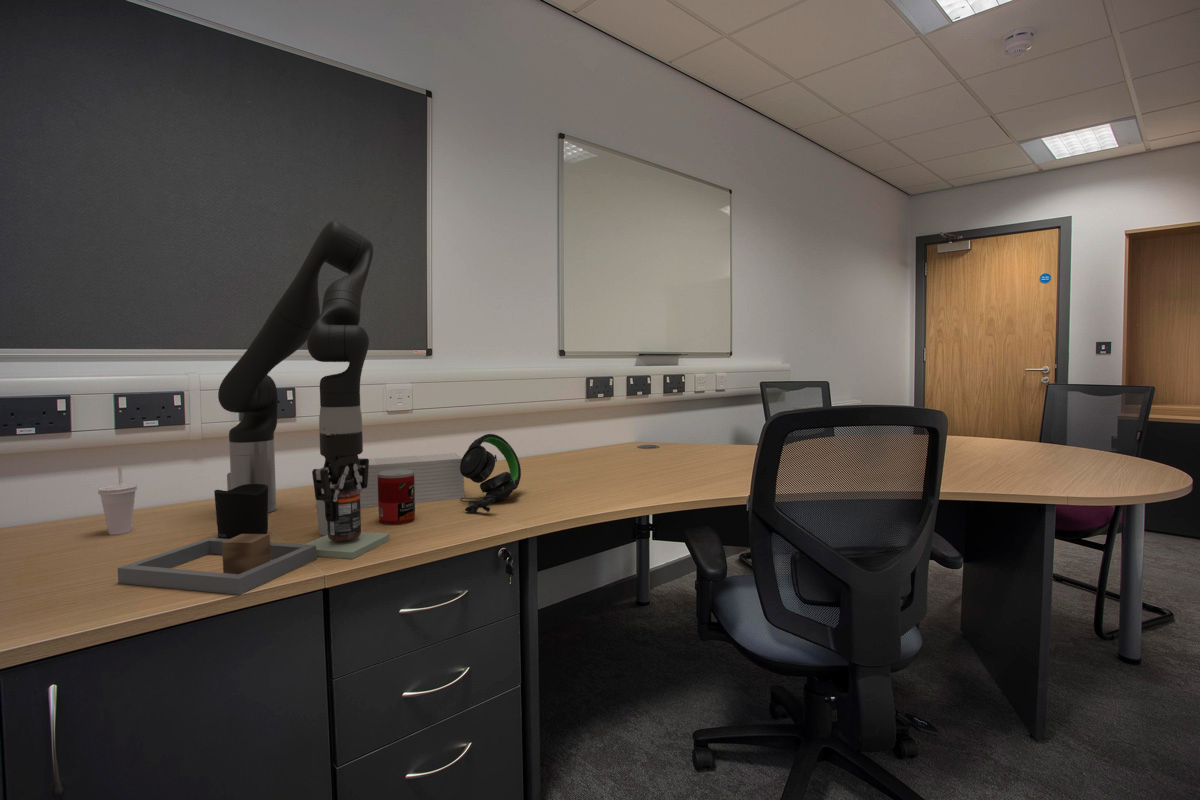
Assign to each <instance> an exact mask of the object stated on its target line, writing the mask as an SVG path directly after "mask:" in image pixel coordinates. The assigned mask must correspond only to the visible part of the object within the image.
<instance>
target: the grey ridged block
mask: <svg viewBox="0 0 1200 800" xmlns="http://www.w3.org/2000/svg"><path fill="white" fill-rule="evenodd" d="M462 458H463V456H461V455H459V454H457V453H454V452H453V453H452V452H451V453H450V452H449V453H437V454H424V455H423V454H421V455H419V454H418V455H406V456H405V455H404V456H392V457H391V456H390V457H380V458H379V457H376V458H368V459H369V468H368V484H367V488H363V489H362V492H361V493H360V509H365V508H366V509H367V508H376V507H378V473H379V472H382V471H386V470H397V469H405V470H412V471H414V485H415V503H425V502H426V503H427V502H435V501H437V502H438V501H446V500H456V499H461V498H465V477H464V476H463V475H462V474H461V472H460V463H461V460H462ZM360 478H361V481H360V482H362V476H360Z"/></svg>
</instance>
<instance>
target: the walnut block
mask: <svg viewBox="0 0 1200 800" xmlns="http://www.w3.org/2000/svg"><path fill="white" fill-rule="evenodd" d="M270 535H271V534H270V533H266V534H240V535H238V536H236V537H233V538H231V539H229V540H227V541H224V542H222V553H223V555H222V570H223V572H222V573H228V574H241V573H243V572H246V571H248V570H250V569H253V568H255V567H257V566H260V565H262V564H264V563H267V562H269V561H272V559H271V553H270V542H271V536H270Z"/></svg>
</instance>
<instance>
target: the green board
mask: <svg viewBox="0 0 1200 800" xmlns="http://www.w3.org/2000/svg"><path fill="white" fill-rule="evenodd" d="M390 540H391V533H378V532H366V531H361V534H360V536H359V537H357V538H354V539H351V540H347V541H333V540H330V539H329V538H328V535H322V536H321V537H319V538H317V539H314V540H312V541H309V542H307V543H304V544H303V545H316V557H325V558H334V559H335V558H336V559H348V560H350V559H351V560H353V559H355V558H357V557H360V556H361V555H363V554H365V553H367V552H370V551H372V550H373V549H375V548H377V547H379V546H381V545H382V544H385V543H386V542H389V541H390Z"/></svg>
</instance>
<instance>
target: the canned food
mask: <svg viewBox="0 0 1200 800" xmlns="http://www.w3.org/2000/svg"><path fill="white" fill-rule="evenodd" d="M377 507H378V510H377V511H378V519H379V522H380V523H381V524H383V525H403V524H407V523H411V522H413V521H414V520H415V517H416V504H415V485H414V471H412V470H405V469H397V470H386V471H382V472H379V473H378V506H377Z"/></svg>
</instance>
